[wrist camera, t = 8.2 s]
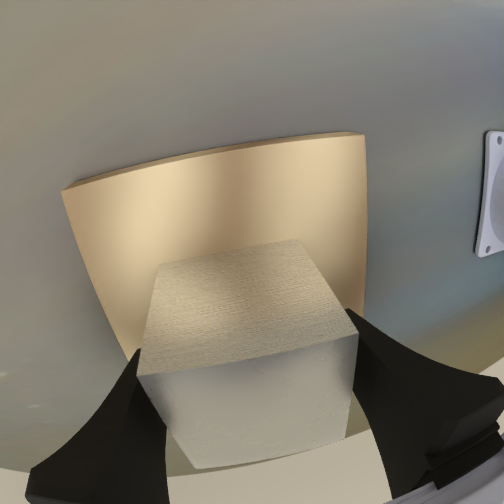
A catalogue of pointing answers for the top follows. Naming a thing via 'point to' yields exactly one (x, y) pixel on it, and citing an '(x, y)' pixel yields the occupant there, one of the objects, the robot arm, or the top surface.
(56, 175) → the top surface
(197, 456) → the wood-grain grey cube
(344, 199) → the tan square panel
